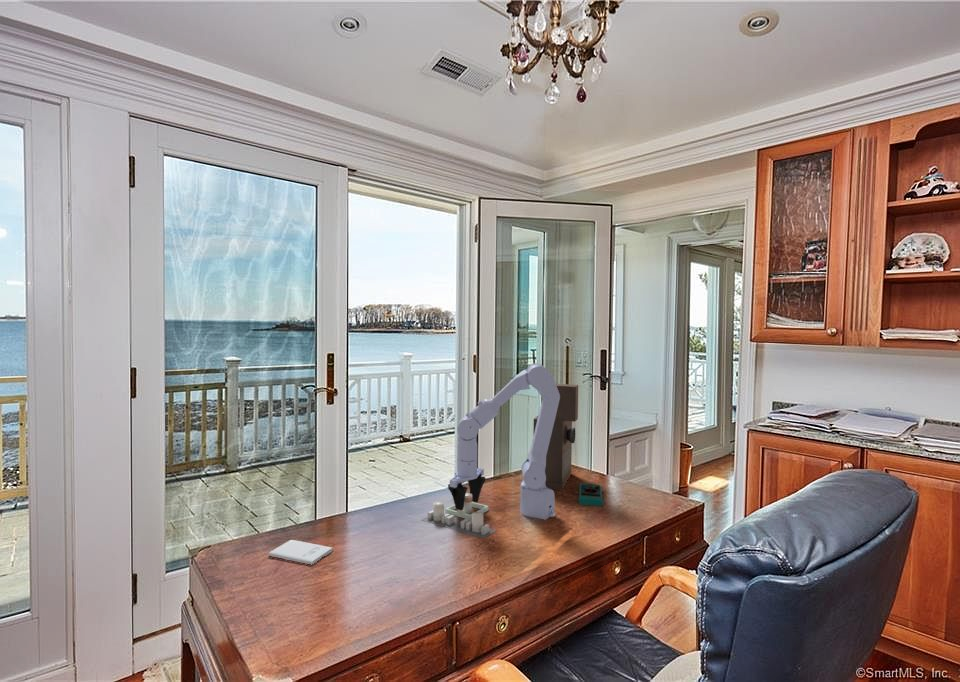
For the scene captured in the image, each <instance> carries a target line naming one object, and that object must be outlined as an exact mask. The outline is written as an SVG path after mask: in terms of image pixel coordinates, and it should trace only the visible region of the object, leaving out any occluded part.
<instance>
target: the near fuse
mask: <svg viewBox="0 0 960 682" xmlns="http://www.w3.org/2000/svg"><path fill="white" fill-rule="evenodd" d="M471 514H472V532H474V533H481V527H482V526H484V513H482V512H476V511H472V513H471Z"/></svg>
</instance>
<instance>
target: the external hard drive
mask: <svg viewBox="0 0 960 682" xmlns="http://www.w3.org/2000/svg"><path fill="white" fill-rule="evenodd" d="M332 552H334V547H332V546H326V545H322V544H316V543H311V542H305V541H302V540H295V539H290V540H288V541H285V542H284V543H282V544H281V545H279V546H278V547H276V548H275V549H272V550H271V551H269V552H268V556H269V555H270V556H275V557H279V558H283V559H288V560H293V561H298V562H303V563H307V564H311V565H312V564H313V565H314V563H315V562H316V563H318V562H319V561H321V560H322V559H323V558H325V557H326V556H328V555H330V554H331V553H332ZM324 556H325V557H324ZM322 557H323V558H322ZM320 559H321V560H320ZM318 560H319V561H318ZM317 561H318V562H317ZM316 563H315V564H316ZM307 564H306V565H307ZM311 565H310V566H311ZM313 565H312V566H313Z"/></svg>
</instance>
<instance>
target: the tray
mask: <svg viewBox="0 0 960 682" xmlns="http://www.w3.org/2000/svg"><path fill="white" fill-rule="evenodd" d="M472 508H475V509H478V510H477V511H475V512H482V513H483V514H484V513H486V512H488V511H489V505H485V504H482V503H479V502H473V501H472ZM444 514H450V515H454V516H455V517H458V518H462V519H469V521H470V520H472V513H469V514H466V513H462V511H459V510H458V511H457V509H456V507H455V503H454V504H452V505H451V506H448V507H446V508H444Z"/></svg>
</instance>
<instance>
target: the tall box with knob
mask: <svg viewBox="0 0 960 682" xmlns="http://www.w3.org/2000/svg"><path fill="white" fill-rule="evenodd" d="M556 386H557V389H558V391H559V394H560V400H559V404H558V408H557V413H556V417H555V421H554V425H553V429H552V434H551V438H550V442H549V446H548V450H547V455H546V467H545V475H546V482H545V484H546V487H547V488H549V489H552V488H553V489H554V490H560V489H562V488H563V489H564V487H565V486H564V485H566V484H567V482H568V481H569V479H570V477H571V476H572V474H571V473H572V472H573V470H572V450H573V449H572V445H573V444H575V441H576V428H575V427H573V422H576V421H577V420H578V418H579V384H570V383H569V384H567V383H565V384H564V383H556ZM537 419H538V415H537V416H535V417H534V418H533V432H532V433H533V435H532V436H534V432H535V428H536V424H537ZM570 475H571V476H570ZM568 478H569V479H568ZM567 480H568V481H567ZM565 483H566V484H565ZM553 489H552V490H553ZM563 489H562V490H563Z"/></svg>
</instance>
